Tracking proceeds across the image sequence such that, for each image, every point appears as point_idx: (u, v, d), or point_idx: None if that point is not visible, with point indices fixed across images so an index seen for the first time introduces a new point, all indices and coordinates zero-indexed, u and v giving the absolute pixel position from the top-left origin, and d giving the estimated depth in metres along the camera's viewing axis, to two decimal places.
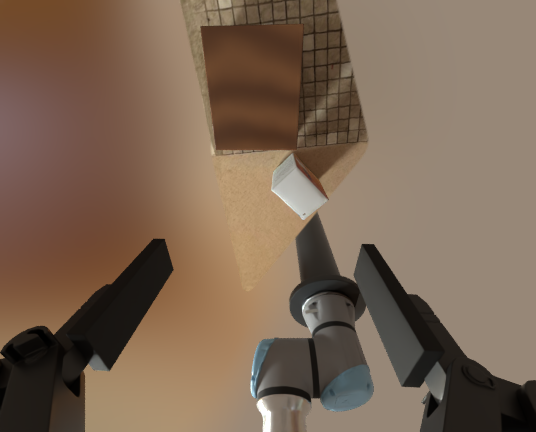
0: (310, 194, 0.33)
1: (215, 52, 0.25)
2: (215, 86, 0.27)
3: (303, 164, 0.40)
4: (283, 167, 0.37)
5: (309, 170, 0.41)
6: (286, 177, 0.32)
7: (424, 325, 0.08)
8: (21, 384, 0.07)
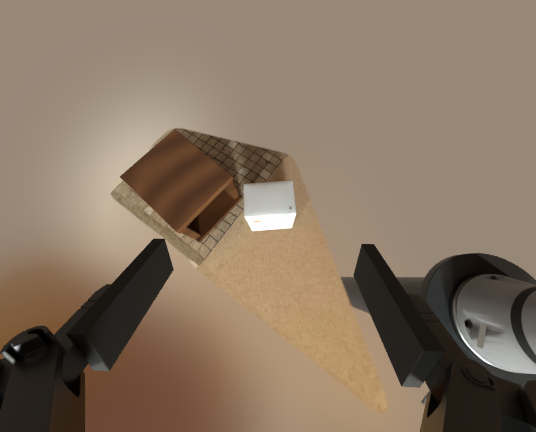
0: (275, 189, 0.32)
1: (136, 179, 0.34)
2: (147, 194, 0.33)
3: None
4: None
5: None
6: (244, 197, 0.32)
7: (424, 325, 0.08)
8: (21, 384, 0.07)
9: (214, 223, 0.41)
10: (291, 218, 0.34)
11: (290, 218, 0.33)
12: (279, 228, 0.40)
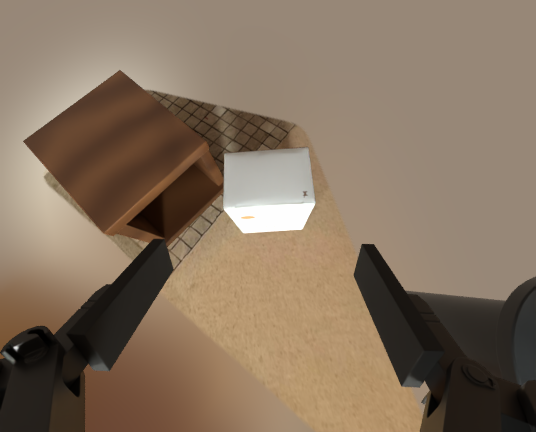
0: (278, 162, 0.18)
1: (48, 145, 0.20)
2: (63, 169, 0.19)
3: None
4: None
5: None
6: (225, 174, 0.18)
7: (424, 325, 0.08)
8: (21, 384, 0.07)
9: (186, 221, 0.27)
10: (305, 213, 0.20)
11: (303, 213, 0.20)
12: (283, 229, 0.27)
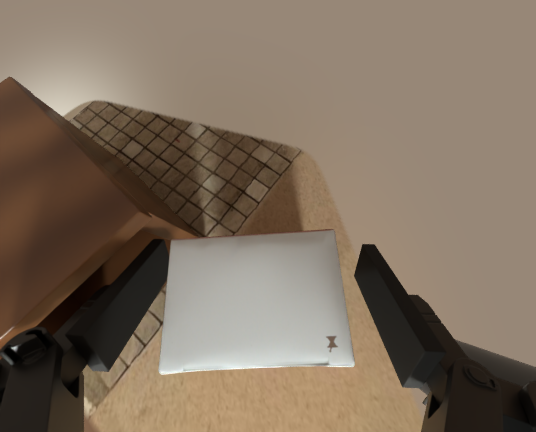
0: (276, 265, 0.09)
1: None
2: None
3: None
4: None
5: None
6: (168, 290, 0.09)
7: (425, 326, 0.08)
8: (19, 385, 0.07)
9: None
10: None
11: None
12: None
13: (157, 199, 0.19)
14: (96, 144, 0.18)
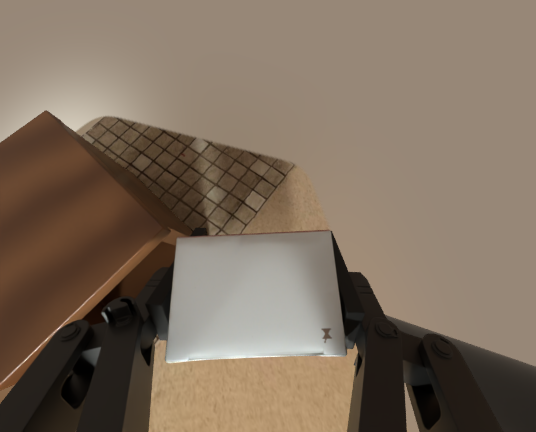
0: (276, 262, 0.10)
1: None
2: None
3: None
4: None
5: None
6: (174, 285, 0.10)
7: (354, 294, 0.10)
8: (112, 344, 0.08)
9: None
10: None
11: None
12: None
13: (167, 210, 0.22)
14: (113, 162, 0.21)
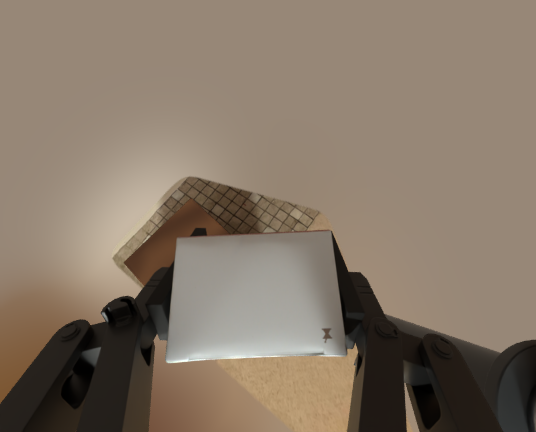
0: (276, 262, 0.10)
1: (143, 266, 0.27)
2: None
3: None
4: None
5: None
6: (174, 285, 0.10)
7: (354, 293, 0.10)
8: (112, 344, 0.08)
9: None
10: None
11: None
12: None
13: None
14: None
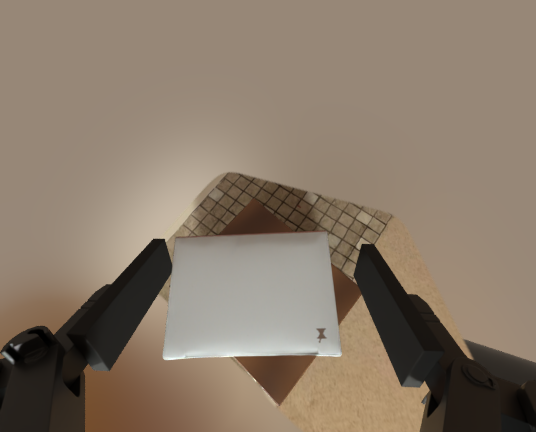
0: (272, 262, 0.10)
1: None
2: None
3: None
4: None
5: None
6: (172, 284, 0.10)
7: (424, 325, 0.08)
8: (21, 384, 0.07)
9: None
10: None
11: None
12: None
13: None
14: None
